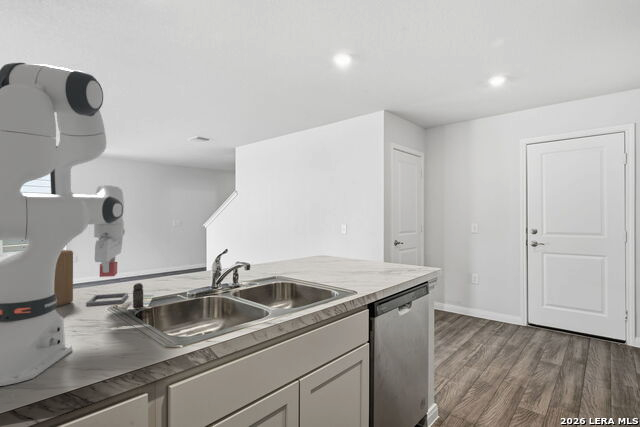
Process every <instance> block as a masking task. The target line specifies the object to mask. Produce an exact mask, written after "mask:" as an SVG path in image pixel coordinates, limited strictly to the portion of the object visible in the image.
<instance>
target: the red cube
mask: <svg viewBox="0 0 640 427" xmlns="http://www.w3.org/2000/svg"><path fill="white" fill-rule="evenodd" d="M109 267H110V271H109V272H107V273H104V272H103V267H102V262H100V263H99V278H105V277H108V278H109V277H115V276H116V275H118V261H115V262H109Z"/></svg>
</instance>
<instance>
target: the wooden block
mask: <svg viewBox="0 0 640 427" xmlns="http://www.w3.org/2000/svg"><path fill="white" fill-rule="evenodd" d="M54 293H55V294H56V298H57V307H61V306H64V305H68V304H71V303H72V302H73V301H74V251H73V250H71V249H63V250H62V252H61V253H60V255H59V257H58V260H57V263H56V269H55V279H54ZM57 307H56V308H57Z"/></svg>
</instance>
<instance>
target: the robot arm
mask: <svg viewBox="0 0 640 427" xmlns="http://www.w3.org/2000/svg"><path fill="white" fill-rule="evenodd" d="M103 104H104V92H103V88H102V86H101V84H100V83H99V81H98V80H97V79H96V77H94V75H92V74H89V73H88V72H85V71H81V70H71V69H68V68H64V67H57V66H54V65H49V64H38V63H37V64H36V63H25V62H11V63H10V62H9V63H7V64H4V65H3V66H2V67H1V69H0V241H17V240H18V241H20V240H26V241H28V245H27V246H26V248H24V250H22V251H20V252H17V253H15V254H12V255H10V256H8V257H6V258H4V259H2V260H1V261H0V387H2V386H9V385H12V384H17V383H22V382H25V381H27V380H31V379H34V378H36V377H37V376H38V375H40V374H41V373H43V372H44V371H45V370H47V369H48V368H49V367H51V366H52V365H54V364H55V363H57V362H58V361H60V359H63V357H65V356H66V355H68V354H70V353H71V352H72V351H73V346H72V345H70V344H66V333H65V321H64V317H63V316H62V315H60V314H59V313H58V312H57V311H56V308H57V298H56V294H55V293H54V279H55V269H56V263H57V260H58V257H59V255H60V253H61V252H62V250H65V248H66V246H67V245H68V244H69V243H70V242H71V241H73V240H74V239H75V238H76V237H77V236H79V235H81V234H82V233H84V231H85V230H86V229H88V228H87V227H88V225H93V229H94V230H93V232H94V233H93V237H94V238H98V239H96V241H95V244H94V245H95V247H94V261H95V263H102V267H103V272H104V273H107V272H109V271H110V267H109V262H116V257H117V256H118V255H120V254H121V253H122V249H123V247H122V246H123V237H124V236H125V228H124V225H125V224H124V223H125V221H124V218H123V216H124V213H125V201H124V193H123V190H122V188H120V187H118V186H113V185H99V186H97V188H96V192H95V194H76V193H74V192H73V191H72V187H71V186H72V185H71V184H72V183H71V181H72V179H71V177H72V175H71V170H72V168H73V167H75V166H78V165H81V164H85V163H88V162H91V161H93V160H95V159H97V158H99V157H100V156H101V155H103V153H104V152H105V151H106V148H107V136H106V135H107V134H106V129H105V124H104V121H103V117H102V114H101V107H102V106H103ZM55 114H56V116H55ZM56 121H57V123H56ZM56 124H57V125H56ZM57 128H58V132H59V142H58V145H57ZM48 175H49V176H50V193H49V194H48V193H47V194H46V193H45V194H44V193H24V192H21V189H22V187H23V185H25V184H27V183H28V182H31V181H32V182H33V181H35V180H37V179H41V178H44V177H46V176H48Z"/></svg>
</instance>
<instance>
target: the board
mask: <svg viewBox="0 0 640 427" xmlns="http://www.w3.org/2000/svg"><path fill="white" fill-rule="evenodd" d="M154 296H155V294H154V293H153V294H143V307H141V308H133V300H132V302H131V303H130V304H129V306H128V307H127V308H126V310H138V309H148V308H149V306H150V303H151V301H152V299H153V297H154Z"/></svg>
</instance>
